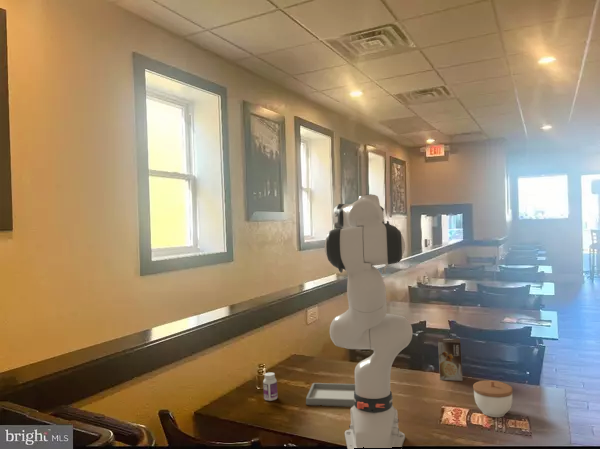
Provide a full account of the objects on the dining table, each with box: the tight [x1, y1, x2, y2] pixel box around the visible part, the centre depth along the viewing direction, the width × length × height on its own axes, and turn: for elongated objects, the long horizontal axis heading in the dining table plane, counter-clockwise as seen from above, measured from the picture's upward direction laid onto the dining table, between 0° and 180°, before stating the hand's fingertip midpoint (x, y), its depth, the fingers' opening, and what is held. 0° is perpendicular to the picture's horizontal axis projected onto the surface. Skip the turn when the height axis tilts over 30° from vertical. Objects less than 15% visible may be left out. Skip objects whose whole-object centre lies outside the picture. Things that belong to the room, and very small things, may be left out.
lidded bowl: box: [472, 380, 514, 418], centre depth 160 cm, size 13×13×11 cm
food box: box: [437, 337, 464, 382], centre depth 195 cm, size 9×6×16 cm
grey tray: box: [305, 382, 355, 408], centre depth 179 cm, size 16×21×2 cm
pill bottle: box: [262, 371, 279, 402], centre depth 181 cm, size 5×5×10 cm
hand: (371, 273), depth 176 cm, fingers open, 8 cm apart
